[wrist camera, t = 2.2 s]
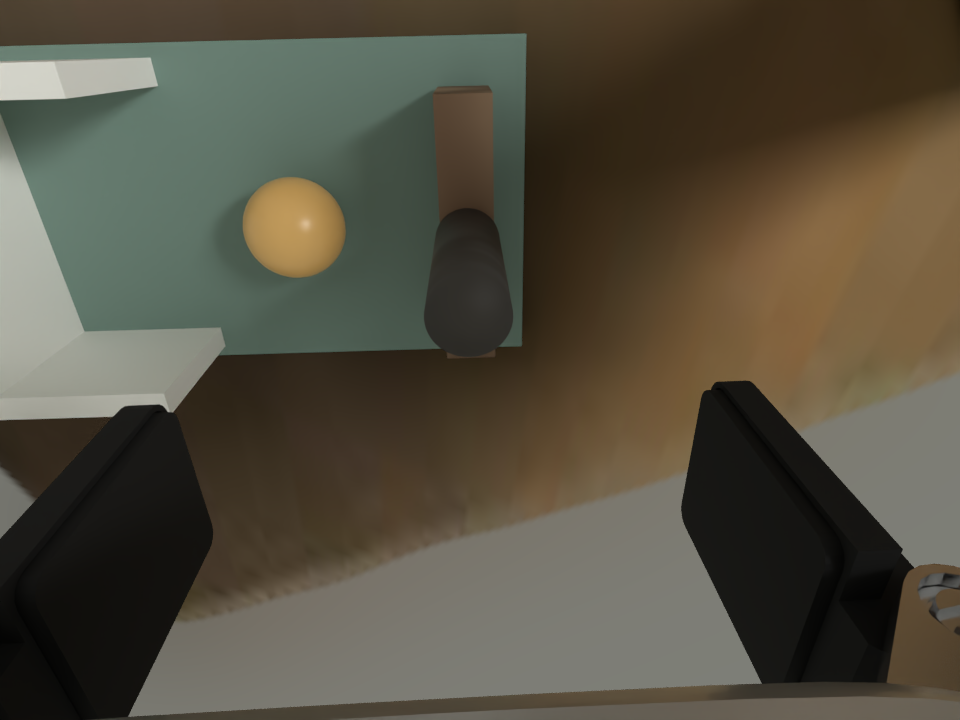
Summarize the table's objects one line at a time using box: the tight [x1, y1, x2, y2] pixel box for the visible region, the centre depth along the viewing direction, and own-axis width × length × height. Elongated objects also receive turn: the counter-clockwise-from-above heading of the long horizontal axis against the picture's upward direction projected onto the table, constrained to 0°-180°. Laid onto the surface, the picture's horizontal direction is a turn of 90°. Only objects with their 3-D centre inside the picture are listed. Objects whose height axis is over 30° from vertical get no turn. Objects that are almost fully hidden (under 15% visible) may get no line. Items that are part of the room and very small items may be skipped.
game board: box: [0, 34, 526, 420], centre depth 23 cm, size 23×14×8 cm, turn 91°
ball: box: [243, 177, 346, 278], centre depth 24 cm, size 4×4×4 cm
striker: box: [424, 85, 513, 359], centre depth 20 cm, size 2×10×11 cm, turn 1°
